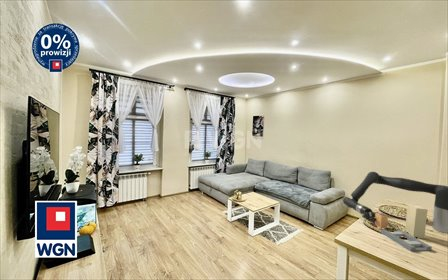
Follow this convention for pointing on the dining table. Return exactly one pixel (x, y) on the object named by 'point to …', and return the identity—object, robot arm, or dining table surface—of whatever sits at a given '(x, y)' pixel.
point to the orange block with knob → (381, 220)
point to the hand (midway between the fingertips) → (381, 219)
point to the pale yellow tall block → (416, 220)
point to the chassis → (411, 244)
